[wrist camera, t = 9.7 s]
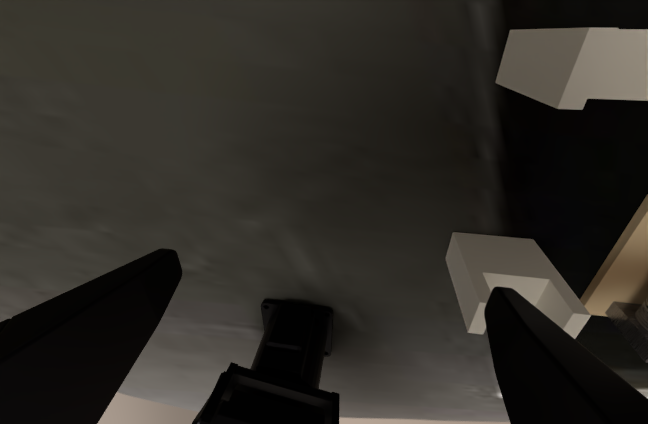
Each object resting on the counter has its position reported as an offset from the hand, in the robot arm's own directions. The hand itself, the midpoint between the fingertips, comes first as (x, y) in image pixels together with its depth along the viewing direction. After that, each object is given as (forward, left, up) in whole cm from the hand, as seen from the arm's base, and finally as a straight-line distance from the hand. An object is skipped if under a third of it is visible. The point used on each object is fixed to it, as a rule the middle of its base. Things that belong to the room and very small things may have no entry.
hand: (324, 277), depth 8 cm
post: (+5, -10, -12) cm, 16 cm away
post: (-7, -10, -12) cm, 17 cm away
